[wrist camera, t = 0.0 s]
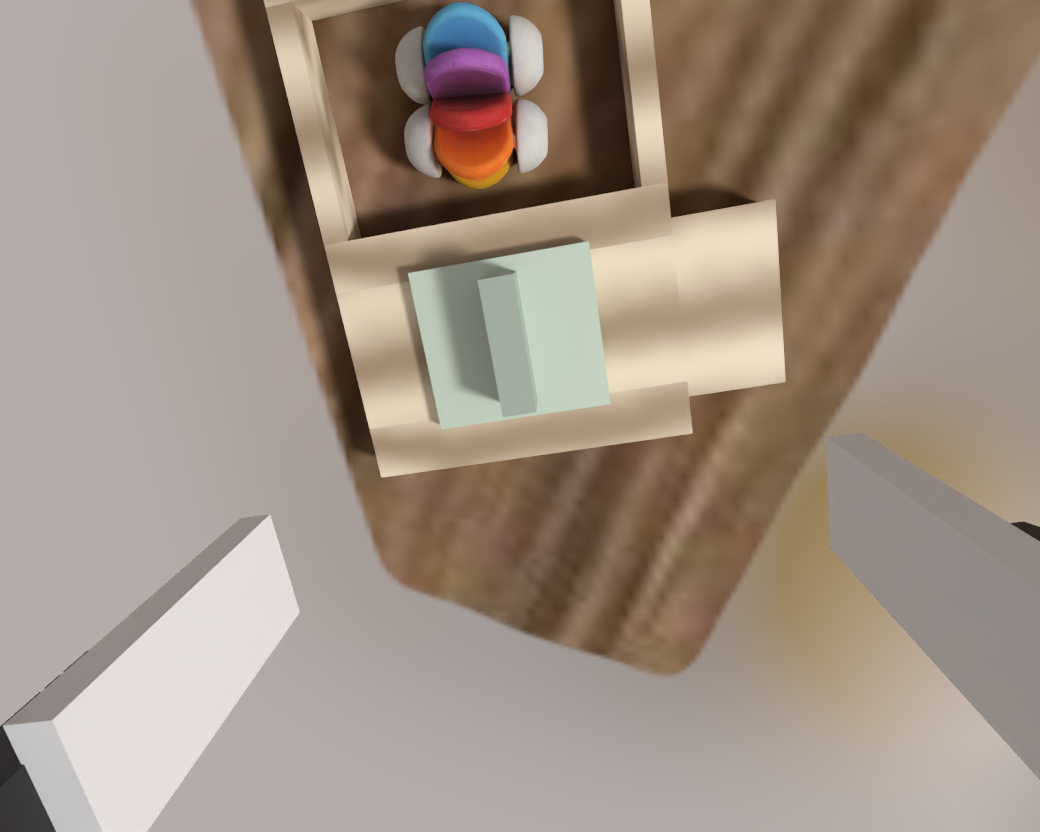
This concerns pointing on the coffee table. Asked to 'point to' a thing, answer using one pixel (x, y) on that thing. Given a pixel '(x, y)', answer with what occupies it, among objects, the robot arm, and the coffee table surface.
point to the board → (598, 219)
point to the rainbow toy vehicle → (472, 95)
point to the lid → (512, 335)
